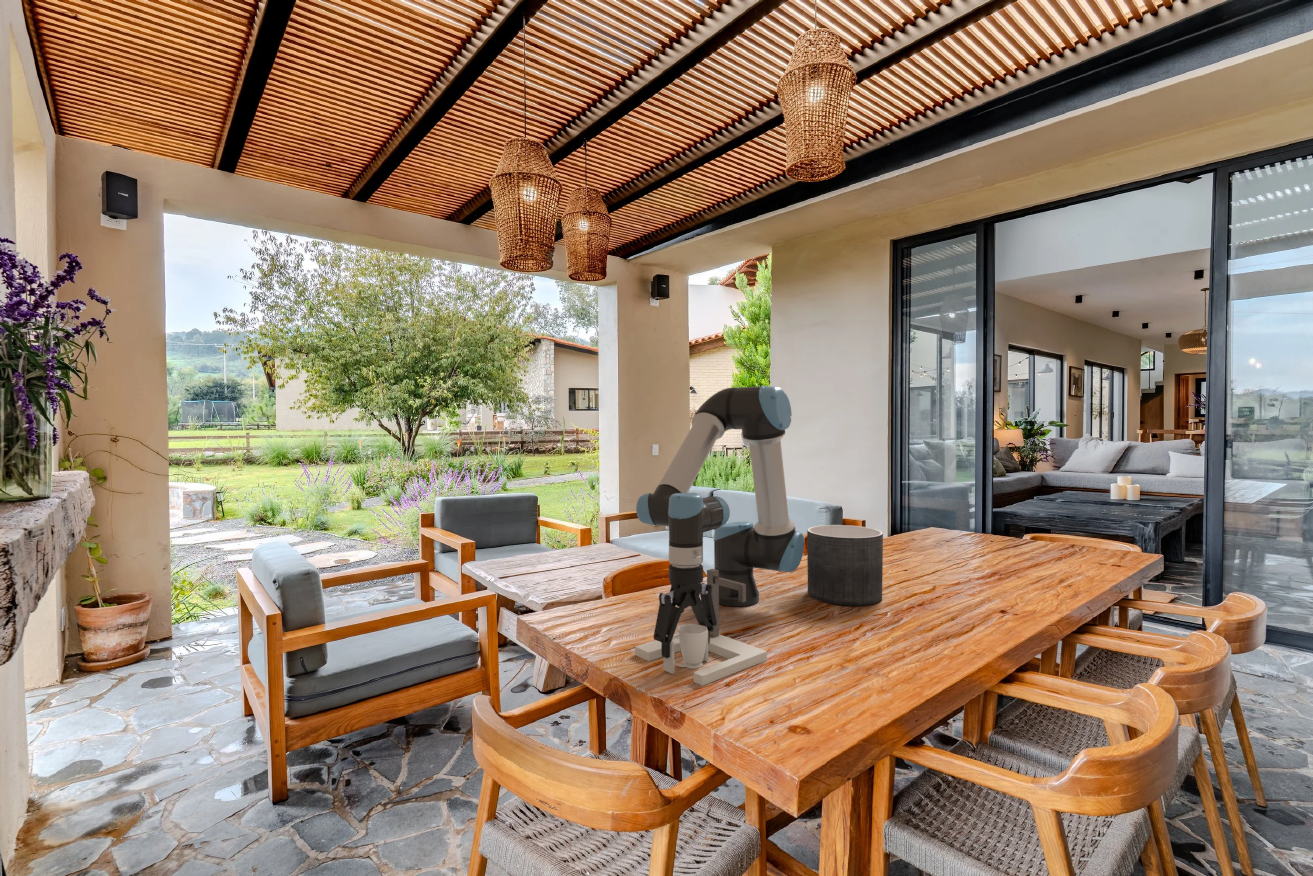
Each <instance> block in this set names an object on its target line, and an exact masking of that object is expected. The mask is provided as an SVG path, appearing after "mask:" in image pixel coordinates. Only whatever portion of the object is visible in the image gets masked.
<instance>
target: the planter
mask: <svg viewBox="0 0 1313 876" xmlns="http://www.w3.org/2000/svg"><path fill="white" fill-rule="evenodd" d="M806 531H807V532H806V534H807V535H806V537H807V538H806V539H807V540H806V544H807V545H806V546H807V547H806V549H807V550H806V551H807V554H806V555H807V557H806V558H807V595H808V596H809V597H810V598H812V599H813V600H815V601H818V602H822V603H826V604H830V605H836V606H845V607H846V606H847V607H860V606H861V607H864V606H871V605H875V604H878V603H880V602H881V601H882V600H883V572H884V571H883V565H884V563H883V558H884V557H883V556H884V554H883V553H884V532H883V531H881V530H879V529H875V528H872V527H866V526H860V525H859V526H858V525H847V524H845V525H844V524H829V525H828V524H826V525H825V524H824V525H816V526H811V527H808V528H807V530H806Z"/></svg>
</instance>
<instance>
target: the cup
mask: <svg viewBox="0 0 1313 876" xmlns="http://www.w3.org/2000/svg"><path fill="white" fill-rule="evenodd" d="M677 633H678V634H679V635H675V636H673V638H672V640H673V639H679V641H680V648H681V651H680V652H681V655H682V661H683V664H680V663H677V662H676V661H675V666H677V667H680V668H687V669H691V670H692V669H694V670H695V669H699V668H702V667H703V663H702V662H703V661H704V660H703V658H704V654H705V649H706V641H707V635H708V629H707V627H706V626H703V625H699V623H685V624H682V625H679V626H678V627H677ZM671 642H672V641H671Z"/></svg>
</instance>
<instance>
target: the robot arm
mask: <svg viewBox="0 0 1313 876" xmlns="http://www.w3.org/2000/svg"><path fill="white" fill-rule="evenodd" d="M792 413H793V412H792V406H791V402H790V399H789V397H788V395H787V393H786V392H785V391H784V389H782V387H780V386H768V385H759V386H743V387H742V386H741V387H726V388H723V389H721V390H719V391H717V392H716V393H714V394H713V395H711V396H710V397H708V398H707V399H706V400H705V401H704V402H703V403H702V404H701V405H700V406H699V408H698V409H697V410H696V412H695V414H694V415H693V417H692V418H691V428H690V429H689V431H688V433H687V435H686V437H685V438H684V440H683V441H682V443H681V445H680V446H679V448H678V450H677V452H676V454H675V455H674V457H673V459H672V461H671V462H670V464H669V465H668V468H667V469H666V471H665V473H664V474H663V476H662V478H661V480H660V481H659V483H658V485H657V486H656V488H655V489H654V492H653V493H652V492H649V493H644V494H642V495H640V496H639V498H638V499H637V502H636V507H635V509H636V510H635V511H636V516H637V519H638V521H639V522H641V523H643V524H646V525H650V526H655V527H657V526H661V527H662V526H663V527H668V562H669V563H670V565H669V566H668V580H669V583H670V588H669V589H670V590H669V592H666V593H664V592H660V593H659V595H658V598H659V599H658V601H659V602H658V603H659V604H658V605H659V606H658V610H657V616H656V622H655V625H654V626H655V628H654V632H653V640H654V641H655V640H657V641H659V642H661V651H662V657H661V658H663V671H664V672H667V673H668V674H669V673H670V674H671V675H672V674H675V672H676V670H675V669H676V664H675V662H676V661H675V658H676V657H675V656H676V655H675V653H674V642H671V641H672V638H673V635H674V634H675V632H676V630H677V628H678V627H677V626H678V623H679V621H680V617H681V615H682V614H683V613H684V611H685V609H687V608H688V607H690V608H691V610H692V611H693V614H694V616H695V619H696V621H697V622H698V623H697V624H699V625H703V626H706V627H707V629H708V635H707V641H706V649H705V654H704V658H703V661H705V662H709V651H708V644H709V643H710V631H711V632H712V631H713V630H714V627H713V626H716V625H717V621H716V616H715V611H714V606H713V601H712V596H711V592H712V586H711V585H709V584H707V583H705V582H703V581H704V566H703V565H702V563H703V562H704V533H707V532H711V531H712V530H713V531H714V537H713V538H714V539H713V546H714V547H713V550H714V552H713V555H714V556H713V557H714V560H713V561H714V565H713V566H714V567H713V569H716V570H719V577H721V578H724V579H728V580H732V581H736V582H740V583H744V584H746V602H739V590H735V589H731V588H728V587H724V586H720V585H719V606H720V605H721V606H726V607H745V606H752V605H755V604H757V603H759V601H760V592H759V590H758V587H757V583H756V579H755V577H754V569H758V570H759V569H760V570H768V571H775V572H779V573H782V572H784V573H792V572H794V571H796V570H797V569H798V567H799V566H800V563H801V561H802V559H803V555H804V549H805V536H804V534H803V533H802V532H800V531H799V530H798V531H797V530H796V523H795V522H794V521H793V520H791V519H790V518H789V517H790V515H789V508H788V500H787V489H786V479H785V469H784V462H783V461H784V460H783V452H782V442H781V441H782V439H783V437H784V436H785V435H786V430H787V429H789V427H790V426H791V424H792V423H791V422H792V416H793V415H792ZM729 430H741V431H742V438H743V440H745V441H746V442H747V443H748V444H749V445H748V446H749V453H750V454H749V455H750V462H751V471H752V479H753V487H754V495H755V504H756V505H755V506H756V512H757V513H756V514H757V522H756V523H755V524H754V523H753V522H752V521H735V522H733V521H732V522H728V521H729V520H730V519H729V518H730V515H731V509H730V507H729V503H728V502H727V501H726V500H725V499H724V498H723V497H720V496H714V495H713V496H711V495H710V496H709V495H708V496H707V497H703V496H702V495H701V494H700V493H696V492H690V490H691V488H692V486H693V485H694V482H696V481H695V480H696V478H697V476H698V475H699V473H700V471H701V469H702V468H703V466H704V464H705V462H706V461H707V458H708V456H709V455H710V453H711V450H712V448H713V447H714V445H715V443H716V441H717V440H719V439H722V437H723V436H724V435H725V433H726V432H727V431H729ZM710 618H711V619H710Z"/></svg>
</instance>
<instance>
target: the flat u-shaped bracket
mask: <svg viewBox="0 0 1313 876" xmlns="http://www.w3.org/2000/svg"><path fill="white" fill-rule="evenodd" d="M675 635H679V634H678V632H677V633H674V635H673V636H675ZM672 642H674V654H675V653H679V652H681V648H680V641H679V639H673V640H672ZM708 652H710V653H712V654H714V655H717V654H718V656H720V657H723V658H725V659H726V660H723V661H721V662H717V663H715V664H712V665H710V666H707V667H704V668H702V669H699V670H697V671H694V672H693V683H695V684H697V685H700V686H702V687H703V686H706V685H708V684H711V683H713V682H716V681H718V680H721V679H723V678H727V677H729V676H731V675H733V674H735V673H738V672H740V671H743V670H746V669H749V668H751V667H753V666H756V665H758V664H761V663H763V662H766V661H767V660H768V651H767V650H764V649H762V648H758V647H756V646H754V645H750V644H748V643H745V642H743V641H740V640H737V639H734V638H731V637H728V636H725V635H722V634H720V633H719V636H718V637H715V638H712V637H710V643H709V644H708ZM634 656H636V657H639V658H641V659H643V660H645V661H646V662H652V661H655V660H657V659H661V658H663V657H662V651H661V642H659V641H657V640H655V639H654V640H651V641H649V642H646V643H642V644H639V645H636V646H634Z"/></svg>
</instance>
